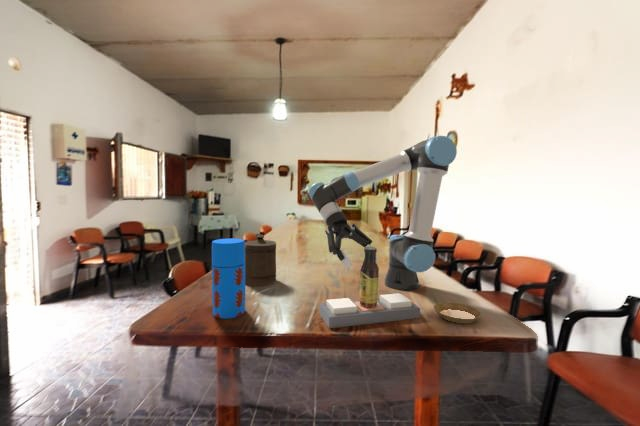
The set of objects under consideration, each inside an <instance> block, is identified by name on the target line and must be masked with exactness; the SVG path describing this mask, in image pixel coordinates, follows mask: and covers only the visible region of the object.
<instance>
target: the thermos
mask: <svg viewBox="0 0 640 426" xmlns="http://www.w3.org/2000/svg"><path fill="white" fill-rule="evenodd" d="M245 242H246V241H245V240H244V239H243V238H232V237H231V238H219V239H215V240H212V241H211V279H212V280H211V282H212V283H211V285H212V286H211V289H212V291H211V292H212V313H213V316H214V317H215V318H218V319H222V320H223V319H234V318H238V317H240V316H242V315H244V313H245V311H246V284H245Z"/></svg>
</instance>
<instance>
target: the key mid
mask: <svg viewBox="0 0 640 426" xmlns="http://www.w3.org/2000/svg"><path fill="white" fill-rule="evenodd" d="M354 304H355V305H356V306H357V307H358V308H359V309H360V310H361V311H362V312H365V311H375V310H385V308H384V307H383V306H381V305H380V304H379V303H378V302H377V305H376V306H375V307H364V306H362V305H361V304H360V301H359V302H354Z"/></svg>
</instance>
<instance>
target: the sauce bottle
mask: <svg viewBox="0 0 640 426" xmlns="http://www.w3.org/2000/svg"><path fill="white" fill-rule="evenodd" d="M364 248H365V249H364ZM364 248H363V250H364V260H363V263H362V265H361V268H360V275H359V294H358V295H359V299H358V300H360V304H361V305H362V306H364V307H375V306H376V305H377V301H378V298H379V283H380V282H379V280H380V279H379V277H380V276H379V271H380V269H379V265H378V264H377V261H376V255H377V252H378V250H377V247H374V246H371V247H364ZM375 261H376V262H375Z"/></svg>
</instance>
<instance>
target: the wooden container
mask: <svg viewBox="0 0 640 426" xmlns="http://www.w3.org/2000/svg"><path fill="white" fill-rule="evenodd" d="M255 237H256V239H255V240H249V241H248V240H247V241H245V285H247V286H252V287H264V286H269V285H272V284H274V283H276V281H277V242H276V241H273V240H265V239H264V238H265V236H264V234H263V233H262V234H259V233H258V234H257V235H256V236H255Z"/></svg>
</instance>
